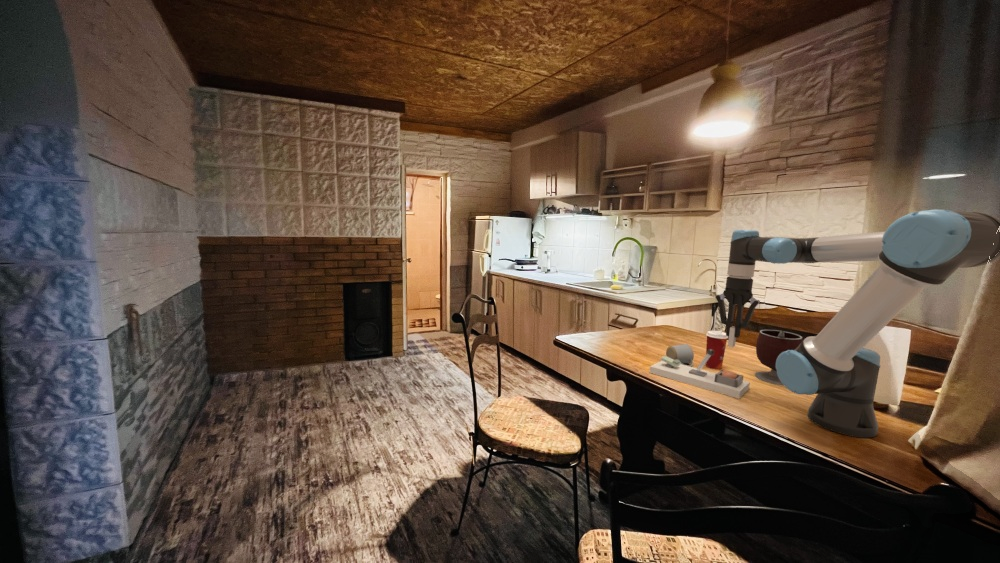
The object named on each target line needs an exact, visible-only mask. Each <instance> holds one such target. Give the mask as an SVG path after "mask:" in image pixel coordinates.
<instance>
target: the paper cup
mask: <svg viewBox="0 0 1000 563" xmlns="http://www.w3.org/2000/svg"><path fill="white" fill-rule="evenodd" d="M705 335H706V348H705V355H706V354H707V351H708V350H709V349H712V350H714V354H713V355H711V356H710V358H709V359H708V361H707V362H706V363H705V367H707V368H709V369H713V370H722V367H723V363H724V358H725V353H726V347H727V343H728V341H727V340H728V339H729V336H726V332H724V331H719V330H708V331H707V332H706V334H705Z"/></svg>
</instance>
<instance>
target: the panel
mask: <svg viewBox="0 0 1000 563" xmlns="http://www.w3.org/2000/svg"><path fill="white" fill-rule="evenodd" d="M686 365H687V364H684V365H682V364H680V365H679V366H678V367H674V366H672V365H670V364H668V363H666V362H664V361H662V360H660V361H658V362H655V363H654V364H652V365H649V374H652V373H653V375H655V374H656V375H655V376H659V377H662V378H665V379H670V380H673V381H676V382H680V383H684V384H687V385H691V386H693V387H697V388H701V389H705V390H708V391H710V392H714V393H718V394H722V395H725V396H728V397H732V398H734V399H735V398H736V399H738V400H739V399H741V398H742V396H744V395H745V394H746V393H747V392H748V391H749V390H750V385H751V383H750V381H747V380H744V375H743V374H739V373H736V374H737V378H736V379H733V378H729V377H725V376H722V371H724V370H722V369H720V371H717V372H713V371H708V370H705V369H701V370H700V371H698V370H697V367H693V366H692V367H690V366H686Z"/></svg>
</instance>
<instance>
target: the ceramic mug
mask: <svg viewBox="0 0 1000 563" xmlns="http://www.w3.org/2000/svg"><path fill="white" fill-rule="evenodd" d="M694 355H695V354H694V349H693V348H692V347H691V345H689V344H688V343H684V344H675V345H671V346H668V347H667V349H666V351H665V356H667V357H669V358H671V359H674V360H676V359H677V360H679V361H680V364H682V365H686V366H690V367H693V366H694ZM687 364H689V365H687Z"/></svg>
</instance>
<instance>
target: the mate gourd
mask: <svg viewBox="0 0 1000 563" xmlns="http://www.w3.org/2000/svg"><path fill="white" fill-rule="evenodd" d="M802 341H803V336H801V335H800V334H797V333H793V332H789V331H783V330H777V329H760V330H759V333H758V336H757V338H756V344H755V351H756V357H757V359H758V361H759V362H760V363H761V364H762V365H763V366H765V367H767V368H769V369H770V371H756V372H755V373H754V374H755V375H754V376H755V377H756V379H758V380H760V381H762V382H765V383H769V384H771V385H772V384H773V385H777V386H784V385H783V384H782V382H781V381H780V379H779V377H778V375H777V370H776V360H777V358H778V356H779V355H780V354H781V353H782V352H784V351H787V350H795V349H796V348H797V347H798V346H799V345H800V344H801V343H802Z"/></svg>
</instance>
